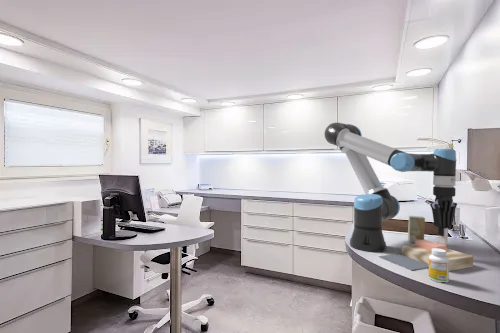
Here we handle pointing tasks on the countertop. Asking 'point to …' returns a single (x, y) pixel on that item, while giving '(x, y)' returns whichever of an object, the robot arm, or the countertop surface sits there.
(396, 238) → the countertop surface
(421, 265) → the mat
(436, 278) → the supplement bottle
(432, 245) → the salmon pink rectangular block
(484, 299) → the countertop surface
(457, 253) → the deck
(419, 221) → the skincare box
